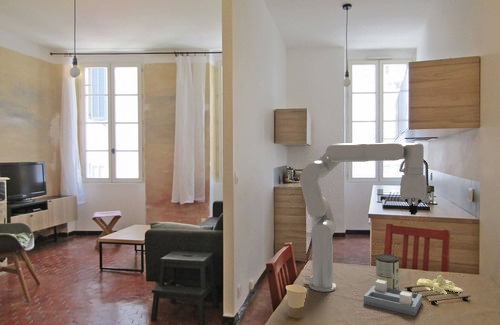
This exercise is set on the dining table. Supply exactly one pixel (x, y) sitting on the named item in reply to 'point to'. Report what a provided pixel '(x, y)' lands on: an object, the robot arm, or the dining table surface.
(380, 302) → the switch board
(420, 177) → the robot arm
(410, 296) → the tab
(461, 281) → the dining table surface
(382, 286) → the tab
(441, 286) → the cloth
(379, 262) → the coffee can
